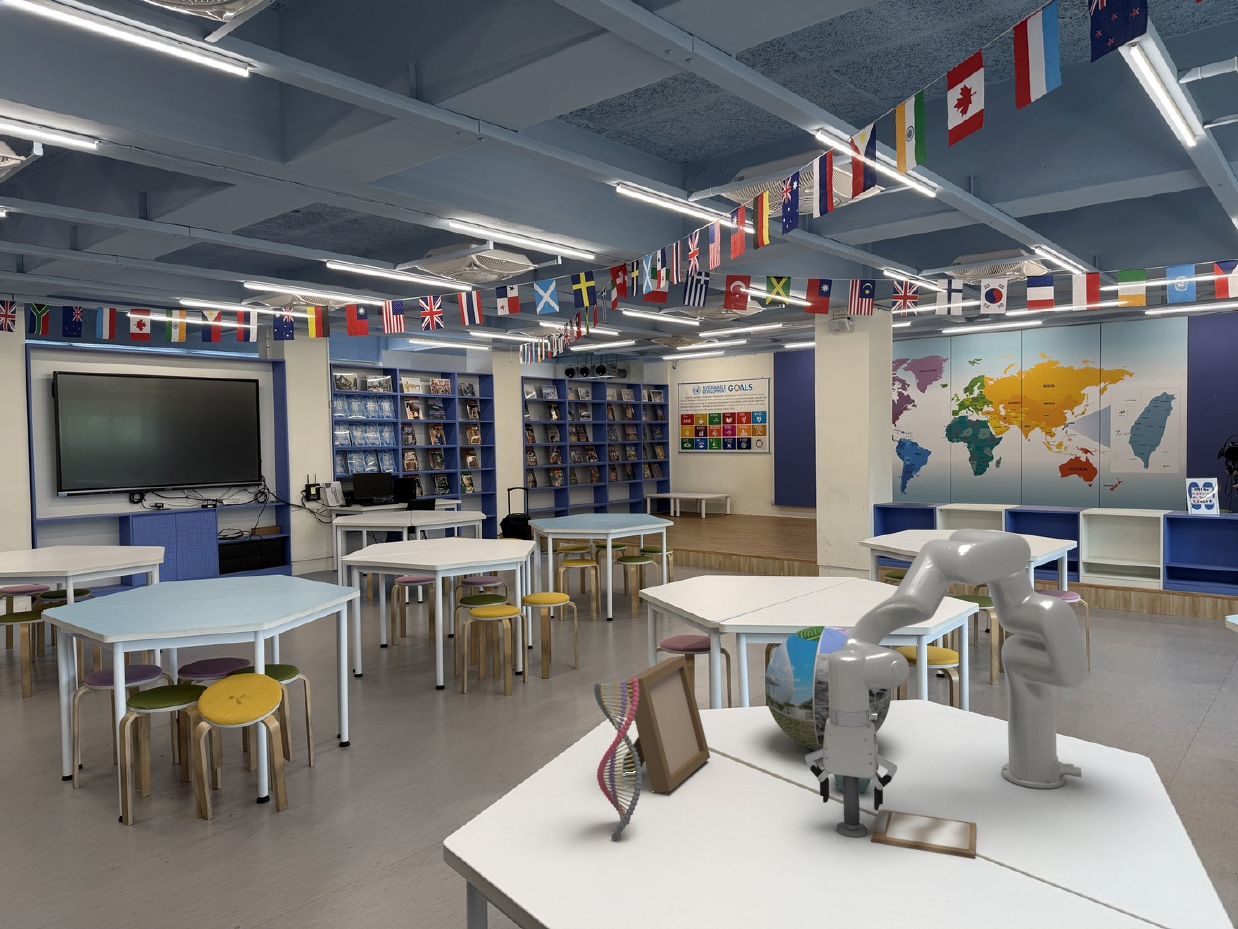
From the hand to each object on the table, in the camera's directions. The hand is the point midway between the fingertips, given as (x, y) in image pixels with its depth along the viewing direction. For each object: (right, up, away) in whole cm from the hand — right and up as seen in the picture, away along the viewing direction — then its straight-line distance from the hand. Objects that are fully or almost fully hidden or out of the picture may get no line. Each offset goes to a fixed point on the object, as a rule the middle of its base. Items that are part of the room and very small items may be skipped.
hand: (851, 803), depth 161 cm
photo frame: (-35, -6, +31) cm, 47 cm away
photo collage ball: (+6, -4, +43) cm, 44 cm away
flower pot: (+6, -5, +20) cm, 21 cm away
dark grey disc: (0, -5, 0) cm, 5 cm away
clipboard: (+13, -5, -3) cm, 14 cm away
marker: (0, -5, 0) cm, 5 cm away
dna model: (-45, -7, +3) cm, 45 cm away
